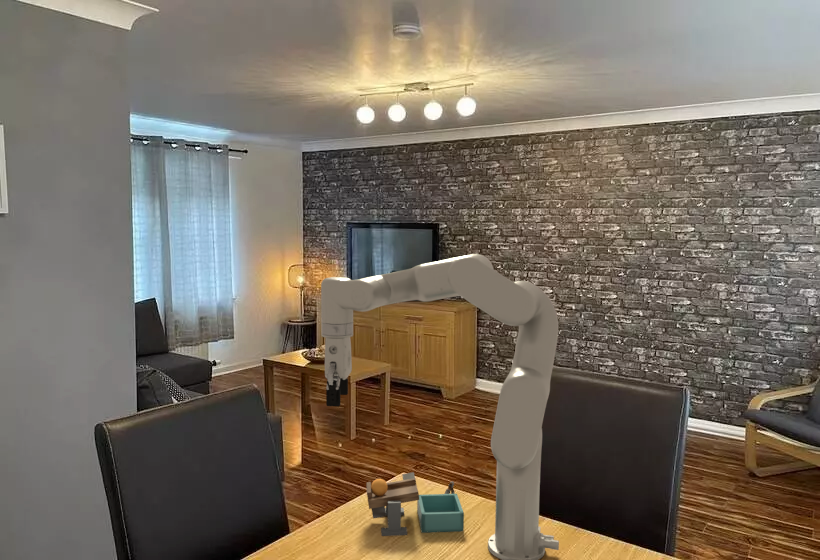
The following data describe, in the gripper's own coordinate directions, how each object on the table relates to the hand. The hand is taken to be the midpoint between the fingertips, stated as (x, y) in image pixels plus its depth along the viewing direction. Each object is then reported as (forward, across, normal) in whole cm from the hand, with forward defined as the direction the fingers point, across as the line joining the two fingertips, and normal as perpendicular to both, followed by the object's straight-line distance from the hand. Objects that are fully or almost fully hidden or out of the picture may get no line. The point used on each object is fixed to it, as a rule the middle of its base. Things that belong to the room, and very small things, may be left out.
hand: (337, 400), depth 150 cm
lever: (+27, +3, -14) cm, 30 cm away
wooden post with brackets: (+30, +13, -26) cm, 42 cm away
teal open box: (+30, +2, -25) cm, 39 cm away
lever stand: (+30, 0, -14) cm, 33 cm away
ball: (+21, 0, -10) cm, 23 cm away
